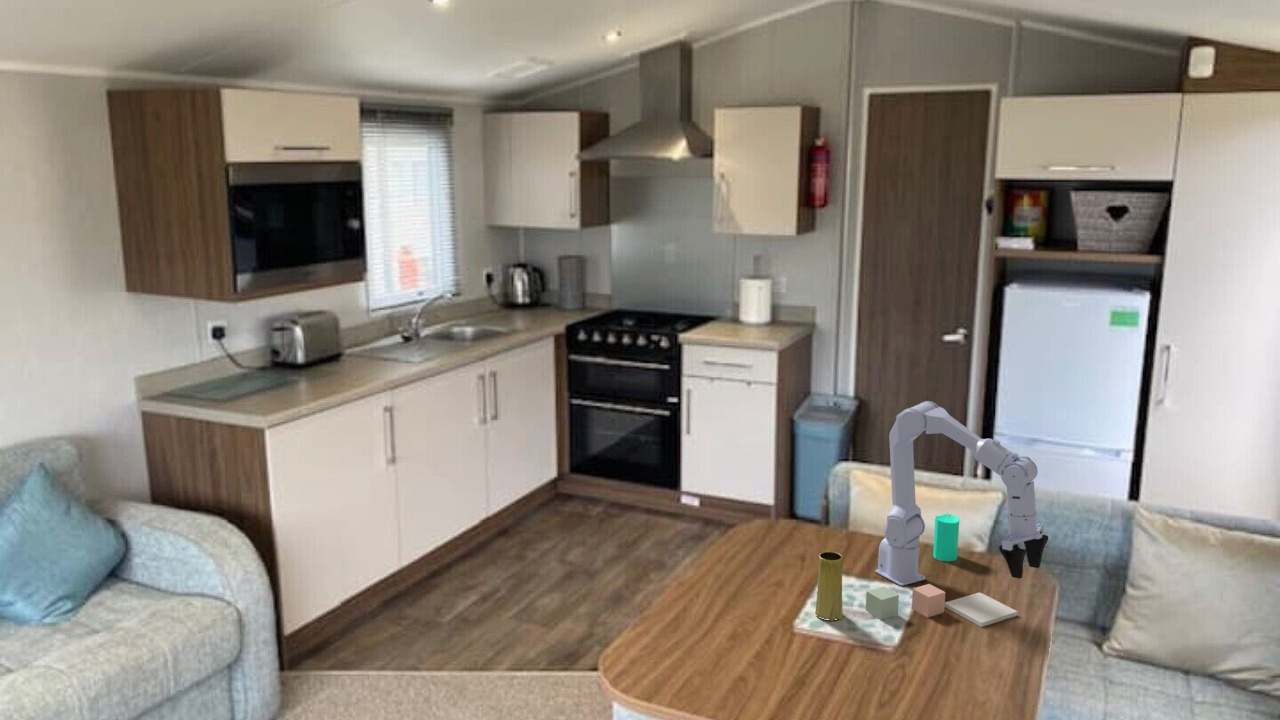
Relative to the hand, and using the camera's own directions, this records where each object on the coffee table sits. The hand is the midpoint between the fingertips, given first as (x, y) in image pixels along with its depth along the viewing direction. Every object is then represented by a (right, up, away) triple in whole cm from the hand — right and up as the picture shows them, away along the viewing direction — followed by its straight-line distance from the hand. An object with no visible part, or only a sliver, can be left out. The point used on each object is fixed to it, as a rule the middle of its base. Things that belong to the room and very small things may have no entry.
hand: (1025, 572), depth 213 cm
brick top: (-20, -10, +5) cm, 23 cm away
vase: (-43, -11, +3) cm, 45 cm away
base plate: (-9, -10, +4) cm, 14 cm away
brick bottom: (-31, -10, +4) cm, 33 cm away
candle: (-7, -4, +33) cm, 34 cm away
